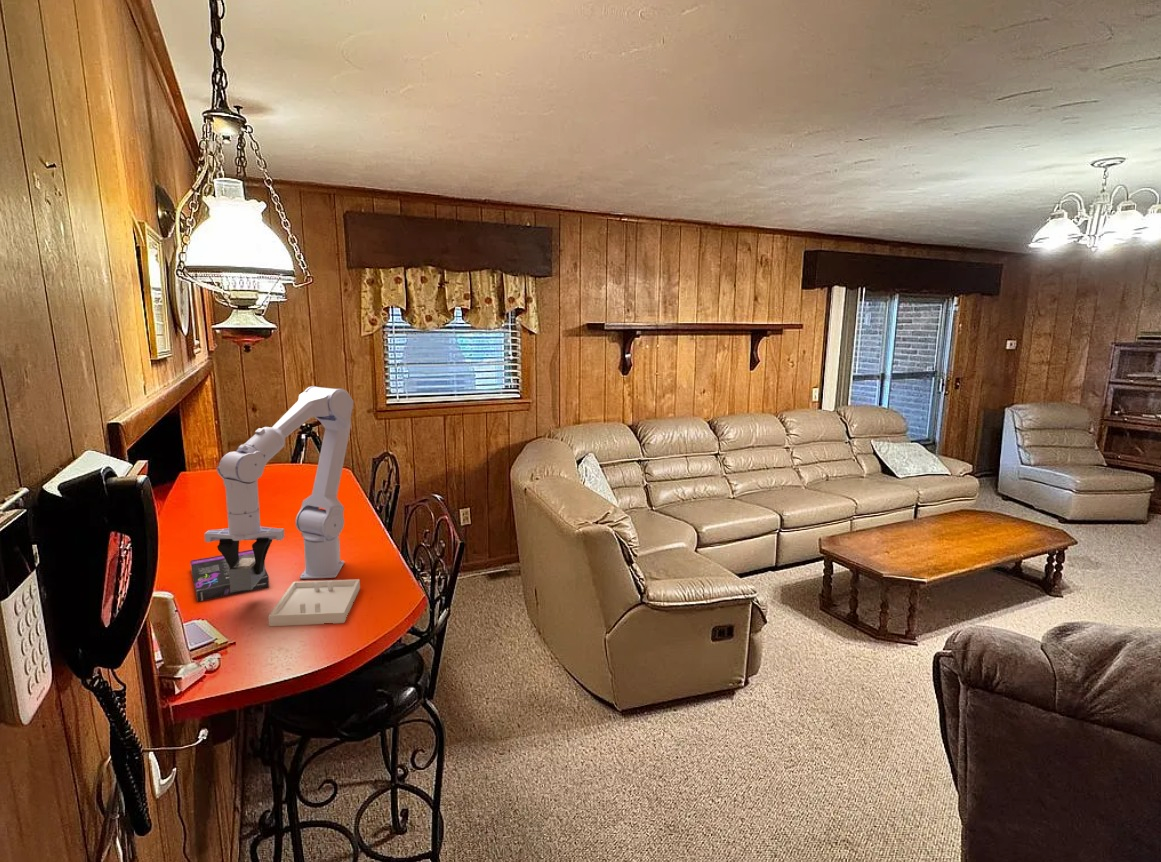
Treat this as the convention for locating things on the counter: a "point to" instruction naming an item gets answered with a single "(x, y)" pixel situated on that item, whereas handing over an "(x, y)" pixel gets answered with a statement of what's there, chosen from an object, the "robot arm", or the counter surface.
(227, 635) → the counter surface
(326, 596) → the tray
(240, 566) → the block
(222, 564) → the box
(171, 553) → the counter surface
